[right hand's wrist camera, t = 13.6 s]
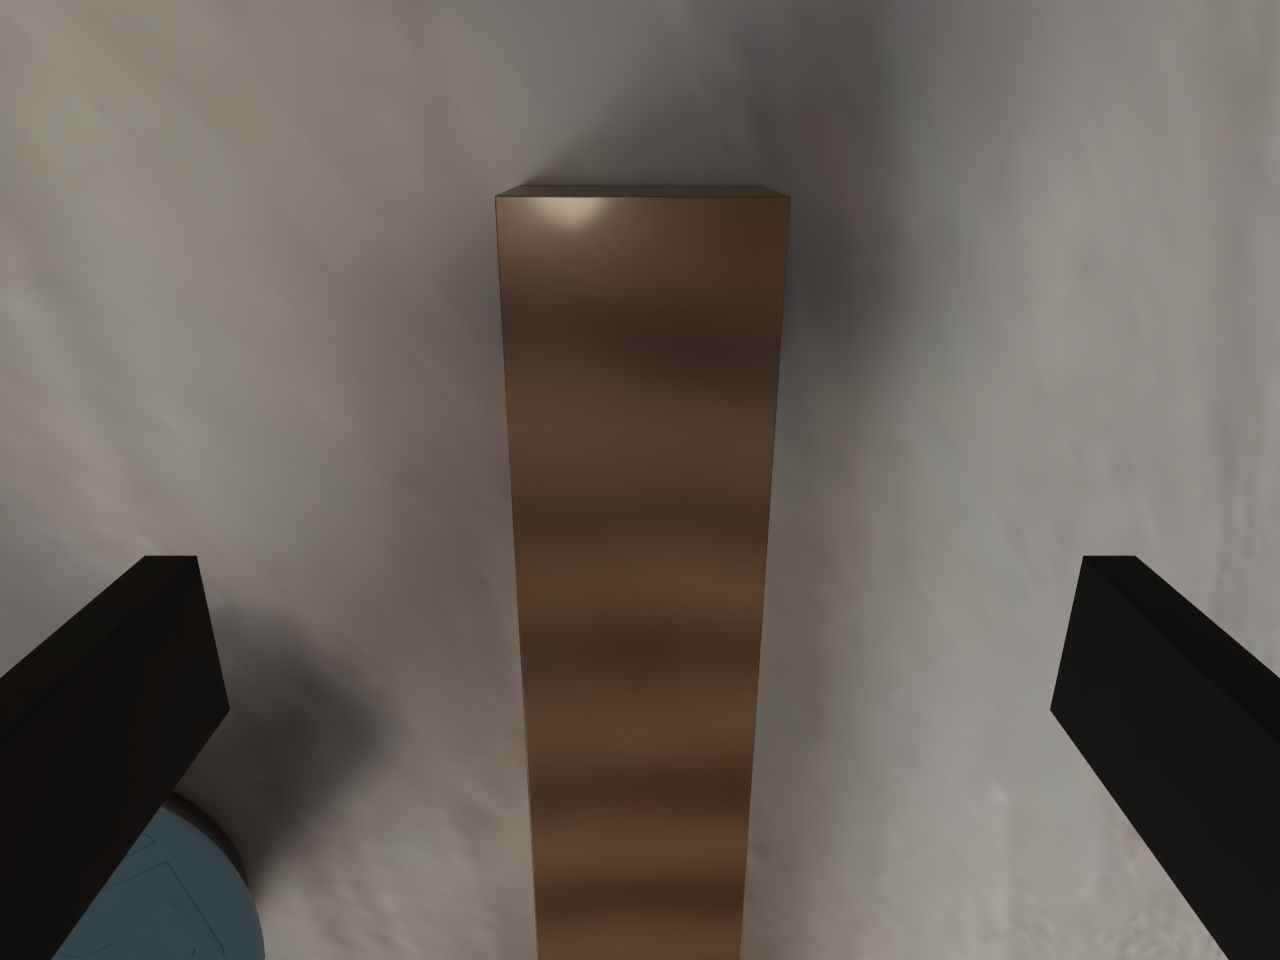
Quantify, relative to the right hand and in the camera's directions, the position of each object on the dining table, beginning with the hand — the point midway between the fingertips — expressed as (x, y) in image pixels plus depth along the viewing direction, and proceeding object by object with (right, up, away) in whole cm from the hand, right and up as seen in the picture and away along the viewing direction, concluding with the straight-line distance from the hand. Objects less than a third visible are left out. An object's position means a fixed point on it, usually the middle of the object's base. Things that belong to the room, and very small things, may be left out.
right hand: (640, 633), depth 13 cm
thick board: (0, -9, +32) cm, 33 cm away
